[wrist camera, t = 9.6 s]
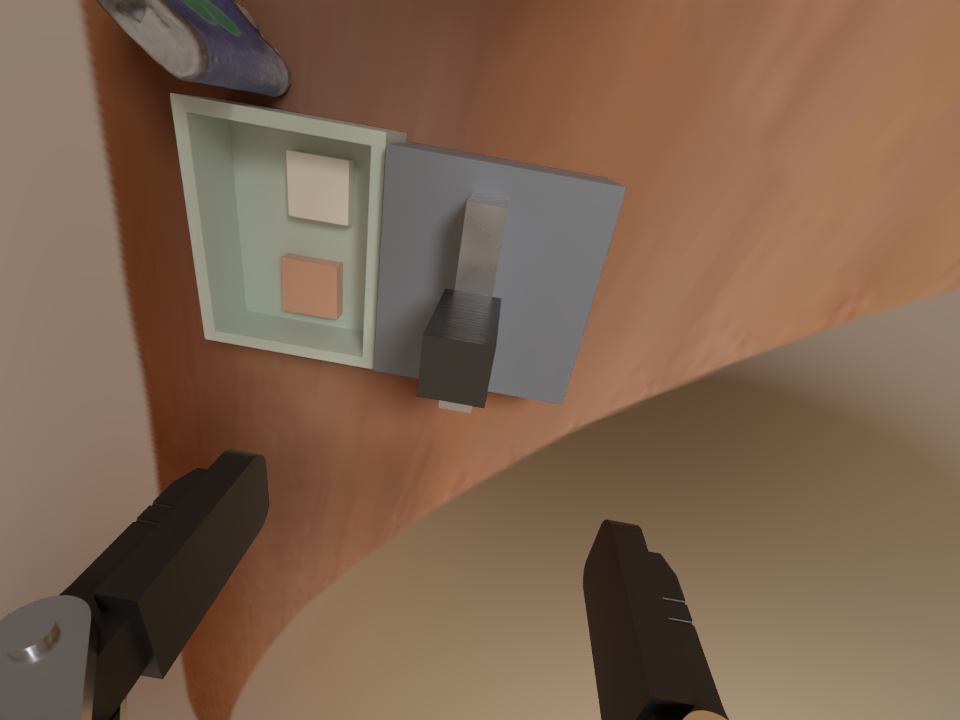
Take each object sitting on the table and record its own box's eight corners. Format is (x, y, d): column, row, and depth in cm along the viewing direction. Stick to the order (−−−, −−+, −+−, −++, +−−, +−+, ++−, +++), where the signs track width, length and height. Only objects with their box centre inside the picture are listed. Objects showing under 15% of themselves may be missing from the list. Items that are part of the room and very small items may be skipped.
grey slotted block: (410, 142, 29) (386, 143, 23) (606, 177, 29) (626, 187, 23) (395, 335, 35) (373, 370, 30) (555, 364, 35) (562, 404, 30)
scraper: (464, 190, 24) (435, 220, 16) (518, 200, 24) (518, 235, 16) (439, 377, 30) (408, 474, 21) (483, 385, 30) (469, 484, 21)
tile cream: (349, 160, 27) (355, 159, 28) (285, 149, 27) (294, 149, 28) (348, 225, 29) (354, 222, 30) (288, 215, 29) (297, 212, 30)
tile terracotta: (337, 267, 31) (343, 262, 32) (280, 257, 31) (288, 253, 32) (336, 319, 32) (342, 313, 34) (283, 310, 32) (290, 304, 34)
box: (224, 99, 28) (169, 92, 24) (407, 132, 28) (386, 132, 24) (244, 313, 35) (204, 338, 31) (391, 339, 35) (373, 369, 31)
